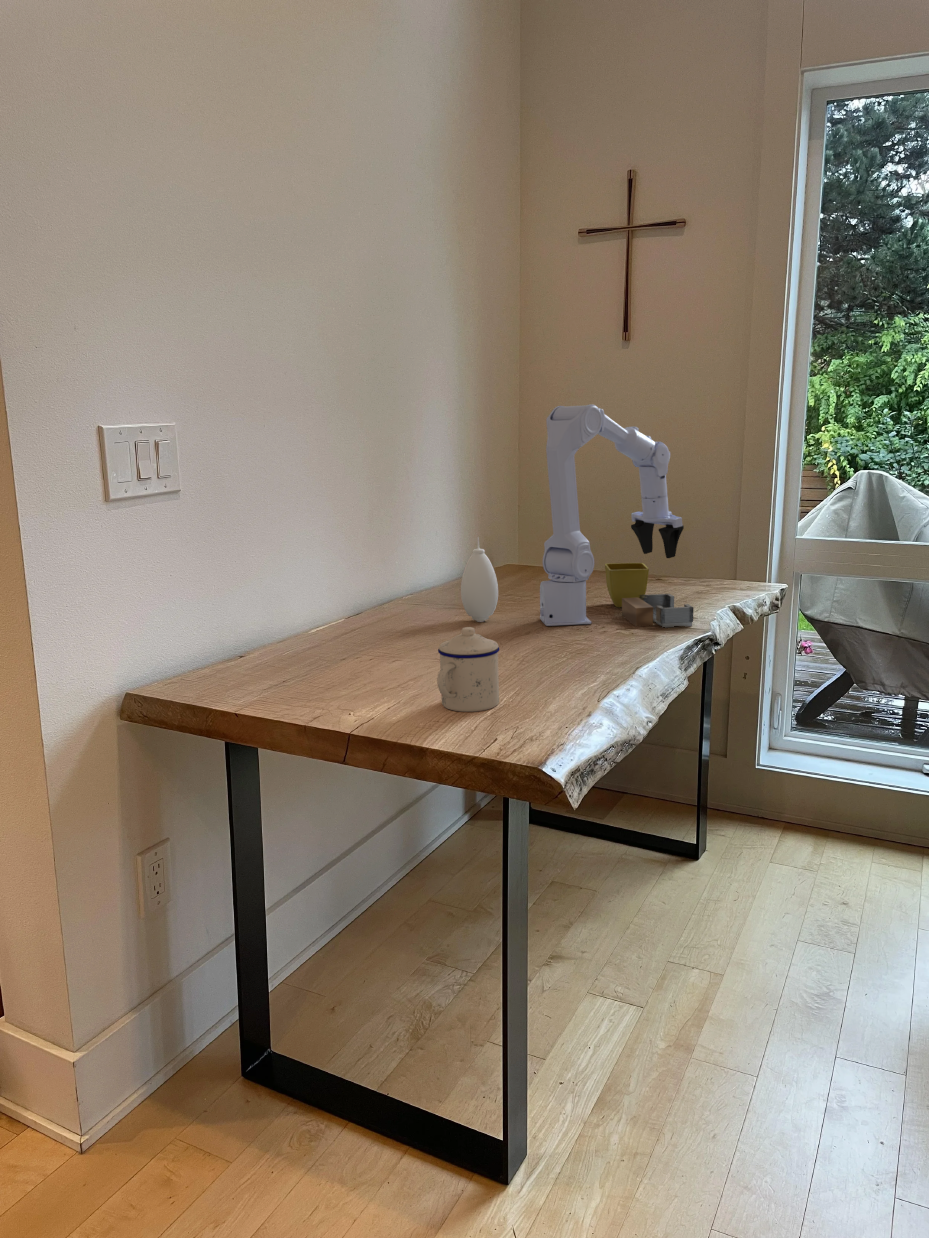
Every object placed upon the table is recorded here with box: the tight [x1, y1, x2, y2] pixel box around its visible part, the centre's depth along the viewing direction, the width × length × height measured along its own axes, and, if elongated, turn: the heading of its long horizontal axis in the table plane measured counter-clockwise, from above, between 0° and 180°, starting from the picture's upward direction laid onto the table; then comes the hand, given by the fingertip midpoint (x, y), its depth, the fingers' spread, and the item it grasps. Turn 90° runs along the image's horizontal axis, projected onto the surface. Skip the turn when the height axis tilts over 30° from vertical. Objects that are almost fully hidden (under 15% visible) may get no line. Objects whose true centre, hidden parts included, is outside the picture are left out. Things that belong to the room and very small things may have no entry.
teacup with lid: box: [436, 626, 500, 713], centre depth 138 cm, size 12×9×12 cm
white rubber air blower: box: [460, 536, 499, 623], centre depth 196 cm, size 8×8×18 cm
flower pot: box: [604, 562, 650, 608], centre depth 209 cm, size 9×9×9 cm
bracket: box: [639, 593, 694, 628], centre depth 194 cm, size 7×16×4 cm, turn 5°
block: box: [621, 598, 654, 627], centre depth 194 cm, size 4×11×4 cm, turn 6°
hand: (659, 555), depth 211 cm, fingers open, 7 cm apart
